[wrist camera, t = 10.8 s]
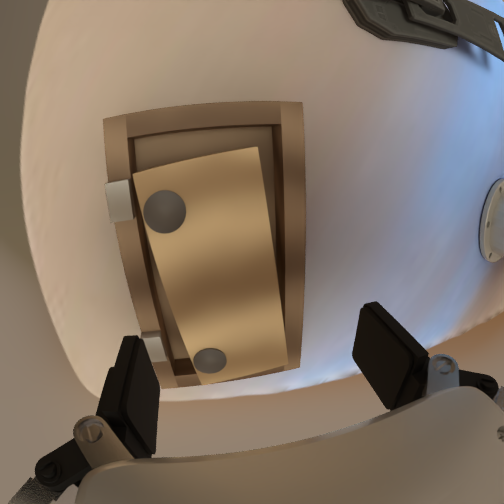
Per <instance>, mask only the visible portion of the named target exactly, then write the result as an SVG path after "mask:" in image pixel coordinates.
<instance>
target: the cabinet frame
mask: <svg viewBox="0 0 504 504" xmlns="http://www.w3.org/2000/svg"><path fill="white" fill-rule="evenodd" d="M103 127H104V143H105V155H106V165H107V174H108V183H106V184H105V189H106V197H107V203H108V209H109V215H110V221H111V223H113V222H115V228H116V233H117V238H118V243H119V248H120V253H121V257H122V262H123V266H124V270H125V275H126V279H127V283H128V287H129V290H130V294H131V298H132V302H133V305H134V309H135V312H136V316H137V319H138V322H139V325H140V329H141V332H142V333H141V338H140V339H143V340H144V343H145V346H146V349H147V351H148V354H149V357H150V360H151V362H152V364H153V367H154V370H155V372H156V375H157V378H158V380H159V383H160V385H161V388H162V389H166V388H178V387H188V386H197V385H202V384H201V382H200V380H199V378H198V375H197V373H196V371H195V368H194V366H193V363H192V361H191V359H190V356H189V354H188V351H187V349H186V346H185V344H184V341H183V339H182V336H181V334H180V331H179V328H178V326H177V323H176V320H175V318H174V315H173V312H172V309H171V307H170V304H169V301H168V298H167V295H166V292H165V289H164V286H163V283H162V280H161V277H160V274H159V271H158V268H157V265H156V261H155V258H154V255H153V252H152V248H151V245H150V241H149V238H148V234H147V231H146V227H145V223H144V220H143V216H142V212H141V208H140V204H139V200H138V196H137V192H136V188H135V184H134V179H133V175H132V174H134V173H136V172H139V171H142V170H144V169H148V168H152V167H155V166H159V165H163V164H167V163H171V162H175V161H180V160H184V159H188V158H193V157H197V156H202V155H207V154H212V153H217V152H222V151H227V150H233V149H239V148H244V147H258V152H259V158H260V164H261V171H262V177H263V183H264V190H265V196H266V203H267V209H268V216H269V222H270V229H271V236H272V243H273V250H274V257H275V264H276V271H277V278H278V286H279V293H280V300H281V308H282V316H283V324H284V331H285V339H286V348H287V356H288V364H287V365H283V366H280V367H276V368H273V369H269V370H266V371H262V372H258V373H254V374H251V375H247V376H243V377H238V378H234V379H230V380H226V381H221V382H227V381H234V380H240V379H246V378H252V377H257V376H262V375H267V374H272V373H277V372H282V371H286V370H291V369H295V368H300V359H301V345H302V328H303V309H304V285H305V246H306V184H305V146H304V122H303V104H302V102H279V101H246V102H221V103H206V104H194V105H184V106H175V107H167V108H160V109H153V110H147V111H141V112H135V113H130V114H124V115H119V116H115V117H110V118H105V119H103ZM221 382H216V383H221ZM212 384H213V383H212Z"/></svg>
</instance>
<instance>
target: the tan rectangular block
mask: <svg viewBox="0 0 504 504" xmlns="http://www.w3.org/2000/svg"><path fill="white" fill-rule="evenodd" d="M132 175H133V179H134V184H135V188H136V192H137V196H138V200H139V204H140V208H141V212H142V216H143V220H144V223H145V227H146V231H147V234H148V238H149V241H150V245H151V248H152V252H153V255H154V258H155V261H156V265H157V268H158V271H159V274H160V277H161V280H162V283H163V286H164V289H165V292H166V295H167V298H168V301H169V304H170V307H171V309H172V312H173V315H174V318H175V320H176V323H177V326H178V328H179V331H180V334H181V336H182V339H183V341H184V344H185V346H186V349H187V351H188V354H189V356H190V359H191V361H192V363H193V366H194V368H195V371H196V373H197V375H198V378H199V380H200V382H201V384H202V385H207V384H212V383H216V382H221V381H226V380H230V379H234V378H238V377H243V376H247V375H251V374H254V373H258V372H262V371H266V370H269V369H273V368H276V367H280V366H283V365H287V364H288V356H287V348H286V339H285V331H284V324H283V316H282V308H281V300H280V293H279V286H278V278H277V271H276V264H275V257H274V250H273V243H272V236H271V229H270V222H269V216H268V209H267V203H266V196H265V190H264V183H263V177H262V171H261V164H260V158H259V152H258V147H244V148H239V149H233V150H227V151H222V152H217V153H212V154H207V155H202V156H197V157H193V158H188V159H184V160H180V161H175V162H171V163H167V164H163V165H159V166H155V167H152V168H148V169H144V170H142V171H139V172H136V173H134V174H132Z"/></svg>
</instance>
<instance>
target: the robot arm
mask: <svg viewBox="0 0 504 504" xmlns="http://www.w3.org/2000/svg"><path fill="white" fill-rule="evenodd" d="M480 249H481V253H482V255H483V257H484V258H485V260H487V261H489V262H492V263H494V262H497V261H498V260H499V259H501V258H502V257H504V179H499V180H498V181H497V182H496V183H495V184H494V185H493V187H492V188H491V190H490V192H489V194H488V197H487V199H486V202H485V206H484V209H483V214H482V219H481V225H480ZM428 354H429V353H428V352H427V351H426V350H425V349H424V348H423V347H422V346H421V345H420V344H419V343H418V342H417V341H416V340H415V339H414V338H413V337H412V335H411V334H410V333H409V332H408V331H407V330H406V329H405V328H404V327H403V326H402V325H401V324H400V323H399V322H398V321H397V320H396V319H395V318H394V317H393V316H391V315H390V314H389V313H388V312H387V311H386V310H385V309H384V308H383V307H382V306H381V305H380V304H379V303H378V302H376V301H375V302H370V303H366V304H364V306H363V308H361V309H360V315H359V320H358V326H357V331H356V336H355V342H354V346H353V351H352V356H353V359H354V361H355V363H356V364H357V366H358V367H359V368H360V370H361V371H362V373H363V374H364V376H365V377H366V379H367V380H368V382H369V383H370V385H371V386H372V388H373V389H374V391H375V392H376V394H377V395H378V397H379V398H380V400H381V401H382V403H383V405H384V406H385V407H386V409H390V410H391V411H390V412H387V413H385V414H382V415H380V416H378V417H375V418H372V419H369V420H367V421H364V422H361V423H358V424H355V425H352V426H349V427H346V428H343V429H340V430H337V431H333V432H330V433H327V434H323V435H319V436H316V437H312V438H308V439H304V440H300V441H296V442H291V443H287V444H282V445H277V446H272V447H267V448H261V449H255V450H249V451H242V452H235V453H226V454H216V455H204V456H190V457H169V458H167V457H166V458H151V456H152V454H155V452H156V435H157V421H158V408H159V397H160V385H159V381H158V379H157V376H156V374H155V371H154V368H153V366H152V363H151V360H150V357H149V354H148V351H147V349H146V346H145V343H144V340H143V339H139V337H138V336H137V335H135V336H124V338H123V341H122V344H121V347H120V350H119V353H118V356H117V359H116V363H115V366H114V367H111V368H109V371H108V374H107V377H106V380H105V383H104V387H103V390H102V394H101V397H100V401H99V405H98V408H97V412H96V416H94V415H90V416H86V417H83V418H82V419H80V420H79V421H78V422H77V423H76V424H75V426H74V429H73V436H74V438H73V439H72V440H70V441H69V442H67V443H65V444H64V445H62V446H61V447H59V448H57V449H56V450H54V451H52V452H51V453H49V454H47V455H46V456H44V457H42V458H41V459H40V460H39V461H38V462H37V464H36V467H35V475H36V476H35V477H34V479H32V478H31V477H30V478H29V479H28V480H27V482H26V483H25V484H24V485H23V486H22V487H21V488H20V490H19V491H18V492H17V493H16V494H15V495H14V496H13V497H12V499H11V500H10V501H9V503H8V504H504V387H503V386H501V387H500V388H498V384H497V382H496V380H495V379H494V378H492V377H491V376H489V375H485V374H480V373H474V372H469V371H464V370H459V368H458V364H457V362H456V361H455V360H454V359H453V358H452V357H450V356H448V355H445V354H438V355H434V356H433V357H431V359H430V358H429V357H428Z"/></svg>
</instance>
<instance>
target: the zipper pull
mask: <svg viewBox="0 0 504 504" xmlns="http://www.w3.org/2000/svg"><path fill="white" fill-rule="evenodd" d="M343 3H344V5H345V7H346V8H347V10H348V11H349V13H350V15H351V16H352V18H353V20H354V21H355V23H356V25H357V26H359V27H360V28H362V29H364V30H366V31H368V32H369V33H371V34H373V35H375V36H376V37H378V38H380V39H382V40H392V41H402V42H409V43H415V44H420V45H426V46H431V47H436V48H440V49H447V48H452V47H457V41H458V37H460V38H462V39H464V40H466V41H468V42H470V43H472V44H474V45H476V46H478V47H480V48H482V49H483V50H485V51H487V52H489V53H490V54H492V55H494V56H495V57H497V58H499V59H500V60H502V61H503V62H504V50H503V47H502V43H501V40H500V37H499V34H498V31H497V28H496V25H495V22H494V21H496V22H498V23H499V26H500V28H501V30H502V32H503V35H504V18H503V17H501V16H499V15H497V14H495V13H494V12H492V11H489V10H487V9H485V8H483V7H481V6H479V5H477V4H475V3H473V2H470V1H468V0H443V1H442V0H343ZM444 3H445V4H446V5H447V7H448V8H449V10H448V8H447V7H446V5H445V4H444ZM449 11H450V12H449Z"/></svg>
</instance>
